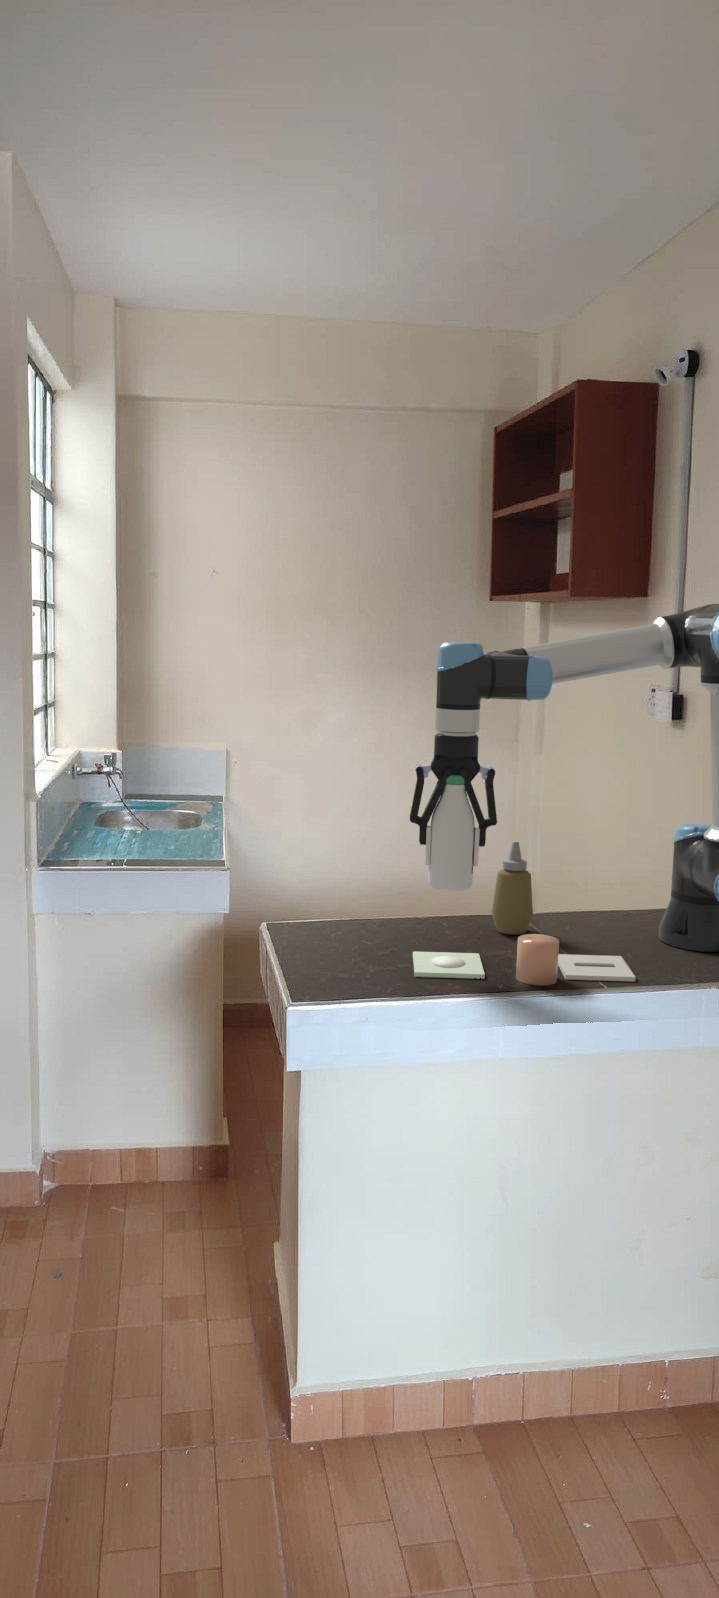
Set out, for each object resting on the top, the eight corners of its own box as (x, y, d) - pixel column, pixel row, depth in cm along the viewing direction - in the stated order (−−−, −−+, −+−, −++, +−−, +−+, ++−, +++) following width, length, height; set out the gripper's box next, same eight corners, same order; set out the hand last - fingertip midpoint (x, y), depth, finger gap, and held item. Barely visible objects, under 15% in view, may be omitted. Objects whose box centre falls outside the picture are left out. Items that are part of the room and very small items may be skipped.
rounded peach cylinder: (553, 973, 199) (555, 934, 198) (559, 986, 192) (562, 946, 191) (513, 971, 199) (515, 933, 198) (518, 984, 192) (520, 945, 191)
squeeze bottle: (508, 923, 230) (513, 836, 227) (540, 932, 224) (545, 843, 221) (482, 930, 224) (486, 841, 221) (514, 939, 218) (518, 848, 215)
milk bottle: (469, 893, 194) (475, 777, 190) (424, 890, 195) (429, 775, 192) (474, 883, 201) (479, 771, 198) (431, 880, 203) (435, 769, 199)
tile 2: (620, 960, 207) (621, 955, 207) (635, 981, 195) (635, 976, 195) (554, 958, 207) (555, 953, 207) (565, 979, 195) (565, 973, 195)
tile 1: (478, 957, 206) (478, 952, 206) (484, 978, 195) (484, 973, 194) (412, 955, 207) (412, 950, 206) (414, 976, 195) (414, 971, 195)
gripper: (514, 732, 197) (507, 861, 201) (396, 729, 198) (392, 857, 201) (519, 737, 190) (512, 870, 194) (397, 733, 190) (392, 866, 194)
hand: (451, 863), depth 197 cm, fingers closed on milk bottle, 8 cm apart
